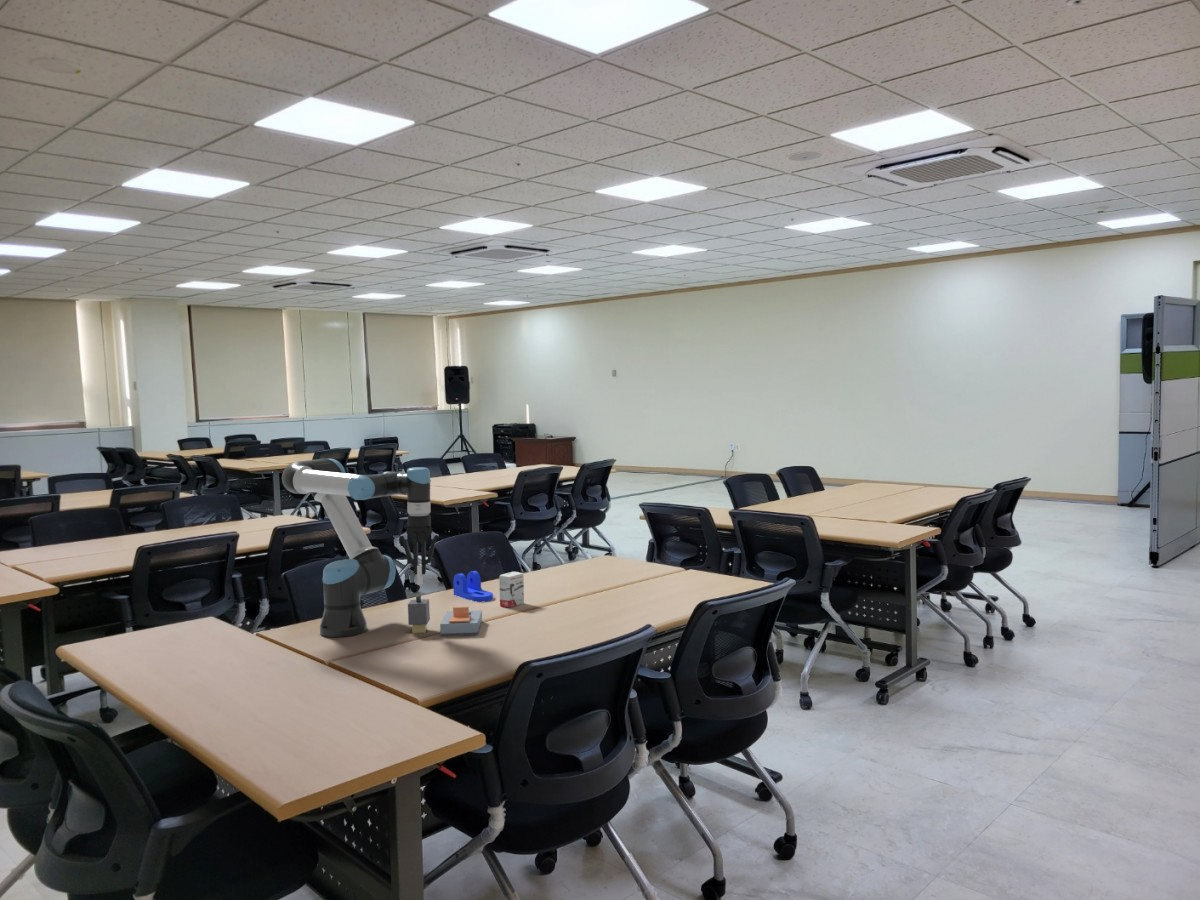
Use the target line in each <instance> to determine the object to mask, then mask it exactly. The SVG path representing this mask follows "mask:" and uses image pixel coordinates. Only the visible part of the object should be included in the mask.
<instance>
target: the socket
mask: <svg viewBox="0 0 1200 900" xmlns="http://www.w3.org/2000/svg"><path fill="white" fill-rule="evenodd" d="M469 615H471V618H470V620H469V622H449V620H450V618H451V616H453V610H451V611H449V610H447V611H446V613H445V614H444V616H443V618H442V620H441V621H440V624H439V625H440V626H439V628H440V629H439V630H440V637H454V636H457V637H459V636H460V637H461V636H478V634H479V631H480V629H481V627H482V624H483V610H481V609H480V610H469Z"/></svg>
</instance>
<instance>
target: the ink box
mask: <svg viewBox="0 0 1200 900" xmlns="http://www.w3.org/2000/svg"><path fill="white" fill-rule="evenodd" d="M498 577H499V578H498V580H499V583H498V584H499V606H500V607H503V608H508V609H509V608H513V607H517V606H520V605H523V604H525V590H524V589H525V586H524V573H523V572H519V571H511V572H506V573H503V574H500V575H499V576H498Z"/></svg>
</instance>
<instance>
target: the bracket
mask: <svg viewBox="0 0 1200 900" xmlns="http://www.w3.org/2000/svg"><path fill="white" fill-rule="evenodd" d="M480 575H481V574H480V573H479V572H478V571H477V570H471V571H469V572H467V575H465V574H464V573H456V574H454V577H453V578H452V579H453V583H452V584H453V595H454V596H455V595H456V597H458V596H459V598H462V599H466V600H469V601H471V600H472V601H471V602H475V601H477V602H478V603H480V602H481V603H483V602H482V601H485V602H489V601H492V600H494V594H493V592H491V591H488V590H484V589H483V588H482V581H481V579H482V577H481V576H480ZM477 602H476V603H477Z"/></svg>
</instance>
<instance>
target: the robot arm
mask: <svg viewBox="0 0 1200 900" xmlns="http://www.w3.org/2000/svg"><path fill="white" fill-rule="evenodd" d="M430 472H431V471H430V469H429V468H427V467H422V466H421V467H419V466H418V467H408V468H407V469H406V472H401V471H400V472H399V471H395V470H391V471H384V472H382V473H378V474H368V475H367V474H366V475H365V474H356V473H346V470H345V467H344V466H343V465H342V463H341V462H340V461H339V460H337V459H334V458H327V457H323V458H319V459H310V460H309V459H308V460H298V461H294V462H291V463H290V464H289V465H287V466H286V467H285V468H284V469H283V472H282V475H281V482H282V485H283V487H284V489H286V490H287V491H289V492H290V493H292V494H297V495H298V494H299V495H301V494H302V495H306V494H309V493H310V494H311V495H312V498H313V499H314V501H315V502H318V503H320V504H321V505H322V507H323V509H324V512H325V513H326V515H327V517H328V519H329V521H330V522H331V524H332V526H333V528H334V530H335V532H336V534H337V537H338V538H339V540H340V542H341V544H342V546H343V548H344V550H345V551H346V554H347V555H348V558H344V559H340V560H334V561H332V562H330V563H328V564H326V565H325V567H324V568H323V571H322V584H323V585H322V587H323V589H322V590H323V603H324V604H323V605H324V610H323V614H322V617H321V621H320V626H319V634H320V635H321V636H323V637H329V638H343V637H350V636H355V635H359V634H362V633H364V632H365V631H367V630H368V627H367V626H368V625H367V620H366V616H365V615H364V612H363V610H362V608H361V607H362V606H361V597H362V596H365V595H369V594H372V593H376V592H382V591H383V590H385V589H387V588H390V586H392V584H394V581H395V578H396V574H397V573H396V564H395V563H394V559H392V557H390V556H388V555H385V554H384V555H383V554H382V553H381V551H380V549H379V547H376V546H372V543H371V541H370V540H369V538H368V536H367V534H366V532H365V530H364V529H363V526H362V525H361V523H360V520H359V518H358V517H357V515H356V513H355V510H354V509H353V507H352V505H351V504H350V501H349V500H348V497H351V498H352V499H354V500H355V501H366V500H369V499H376V498H382V497H383V498H384V497H390V496H395V495H397V496H398V495H400V496H407V499H406V500H407V507H406V508H407V511H406V512H407V514H408V515H407V528H406V531H405V532H404V533H402V534H400V536H399V539H400V540H401V542H402V544H403V548H404V551H405V556H406V559H407V563H408V564H411V565H412V566H413V574H414V576H415V575H417V576H416V581H417V583H416V584H417V586H422V585H423V583H424V580H423V577H424V575H426V573H427V568H426V567H427V564H430V563H431V562H432V559H433V555H434V550H435V546H436V542H437V540H438V538H439V536H440V535H439V534H438V533H435V532H434V531H433V529H432V525H431V524H432V523H431V522H432V520H431V518H432V517H431V509H432V508H431V481H432V480H431V473H430ZM408 537H409V538H408ZM429 538H430V539H431V543H430V547H429V551H428V555H427V553H426V552H427V546H426V543H427V540H428V539H429ZM408 539H410V541H412V546H413V557H412V553H411V548H410V546H409V541H408ZM419 542H420V550H421V553H420V559H421V563H419ZM426 557H427V558H426Z"/></svg>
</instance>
